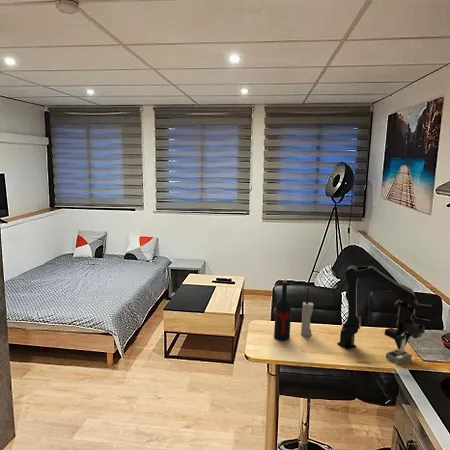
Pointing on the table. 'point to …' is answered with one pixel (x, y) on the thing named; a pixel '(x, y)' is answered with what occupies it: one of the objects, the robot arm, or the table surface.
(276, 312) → the wine bottle
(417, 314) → the robot arm
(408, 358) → the grey compartment tray
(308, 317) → the vintage mobile phone
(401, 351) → the plug
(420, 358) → the table surface
